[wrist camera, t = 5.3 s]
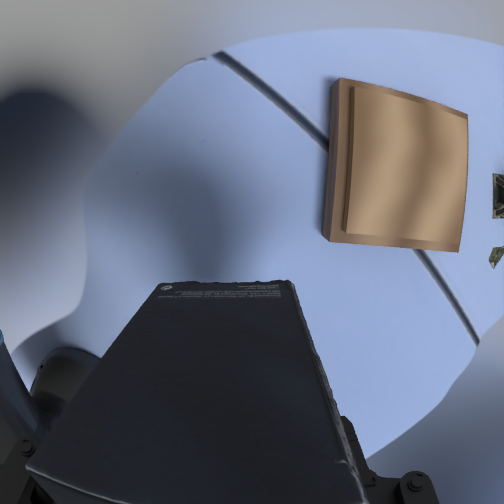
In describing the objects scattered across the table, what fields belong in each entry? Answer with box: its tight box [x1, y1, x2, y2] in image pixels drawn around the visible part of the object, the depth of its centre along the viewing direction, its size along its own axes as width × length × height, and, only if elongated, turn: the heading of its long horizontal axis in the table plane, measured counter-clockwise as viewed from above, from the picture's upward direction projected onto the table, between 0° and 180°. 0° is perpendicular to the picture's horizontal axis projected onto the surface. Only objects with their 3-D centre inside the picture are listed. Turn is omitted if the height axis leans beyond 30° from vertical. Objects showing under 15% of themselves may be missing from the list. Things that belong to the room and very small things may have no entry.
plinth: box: [322, 78, 468, 253], centre depth 23 cm, size 14×14×4 cm
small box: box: [25, 280, 370, 504], centre depth 9 cm, size 11×6×10 cm, turn 1°
